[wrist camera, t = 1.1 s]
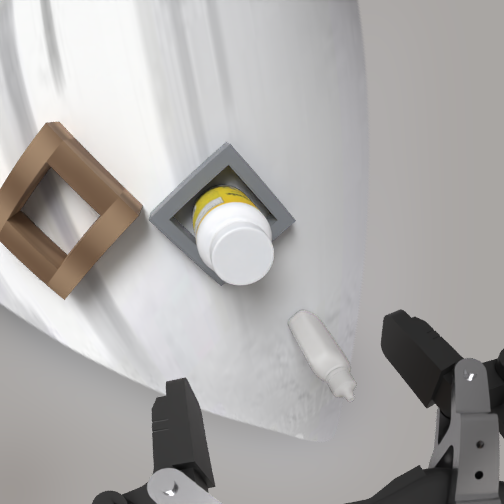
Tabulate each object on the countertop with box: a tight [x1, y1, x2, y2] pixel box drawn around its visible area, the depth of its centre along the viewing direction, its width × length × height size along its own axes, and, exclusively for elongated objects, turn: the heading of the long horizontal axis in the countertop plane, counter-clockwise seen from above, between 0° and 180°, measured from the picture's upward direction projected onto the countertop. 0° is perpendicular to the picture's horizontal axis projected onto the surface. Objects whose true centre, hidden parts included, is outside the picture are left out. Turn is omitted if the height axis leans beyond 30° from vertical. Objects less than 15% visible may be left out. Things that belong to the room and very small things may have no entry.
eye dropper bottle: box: [288, 310, 356, 402], centre depth 31 cm, size 4×6×12 cm
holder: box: [149, 142, 296, 286], centre depth 27 cm, size 9×9×2 cm
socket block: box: [0, 122, 143, 300], centre depth 23 cm, size 11×11×3 cm
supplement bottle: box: [192, 185, 274, 286], centre depth 24 cm, size 5×5×10 cm
